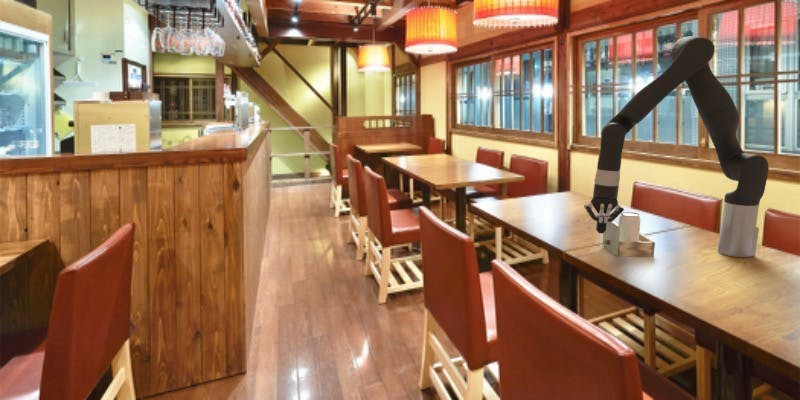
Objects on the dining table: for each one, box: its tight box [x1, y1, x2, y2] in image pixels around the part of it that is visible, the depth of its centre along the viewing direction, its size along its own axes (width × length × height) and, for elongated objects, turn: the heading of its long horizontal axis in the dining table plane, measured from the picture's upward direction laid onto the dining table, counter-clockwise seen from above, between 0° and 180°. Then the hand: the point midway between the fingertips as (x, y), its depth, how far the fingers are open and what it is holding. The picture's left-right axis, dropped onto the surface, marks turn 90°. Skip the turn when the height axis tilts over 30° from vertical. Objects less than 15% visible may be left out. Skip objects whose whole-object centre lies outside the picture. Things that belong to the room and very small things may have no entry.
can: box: [618, 211, 641, 242], centre depth 155 cm, size 6×6×12 cm
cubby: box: [617, 232, 656, 258], centre depth 156 cm, size 11×13×5 cm
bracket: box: [602, 220, 641, 256], centre depth 155 cm, size 12×12×10 cm
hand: (600, 232), depth 156 cm, fingers closed
